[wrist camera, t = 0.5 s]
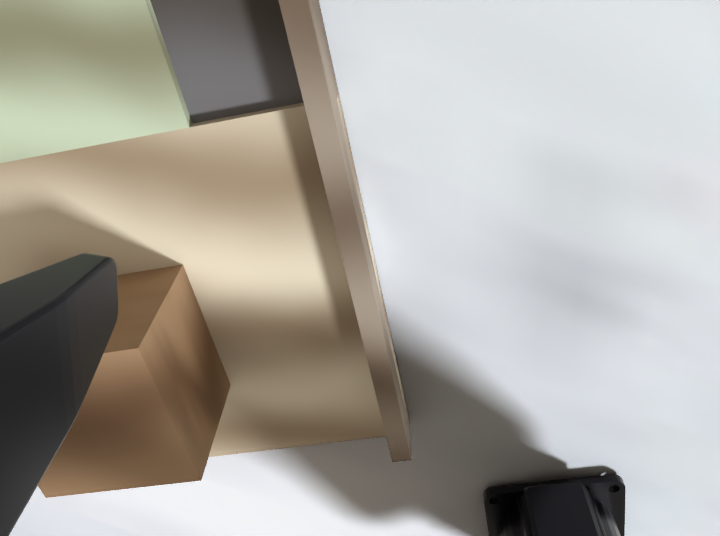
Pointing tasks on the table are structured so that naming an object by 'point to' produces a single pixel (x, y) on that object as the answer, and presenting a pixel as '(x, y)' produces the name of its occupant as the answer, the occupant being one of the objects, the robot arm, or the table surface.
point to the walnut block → (146, 395)
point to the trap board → (207, 195)
